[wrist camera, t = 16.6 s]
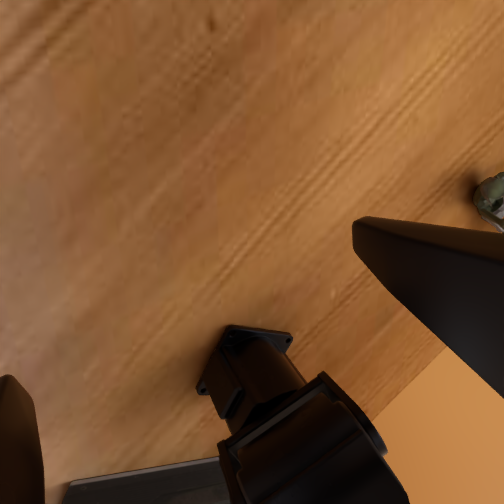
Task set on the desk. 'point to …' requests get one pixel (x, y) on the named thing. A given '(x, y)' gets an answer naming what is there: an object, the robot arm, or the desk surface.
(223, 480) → the portable cd player
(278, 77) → the desk surface
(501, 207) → the zombie figurine
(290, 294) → the desk surface
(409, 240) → the robot arm
